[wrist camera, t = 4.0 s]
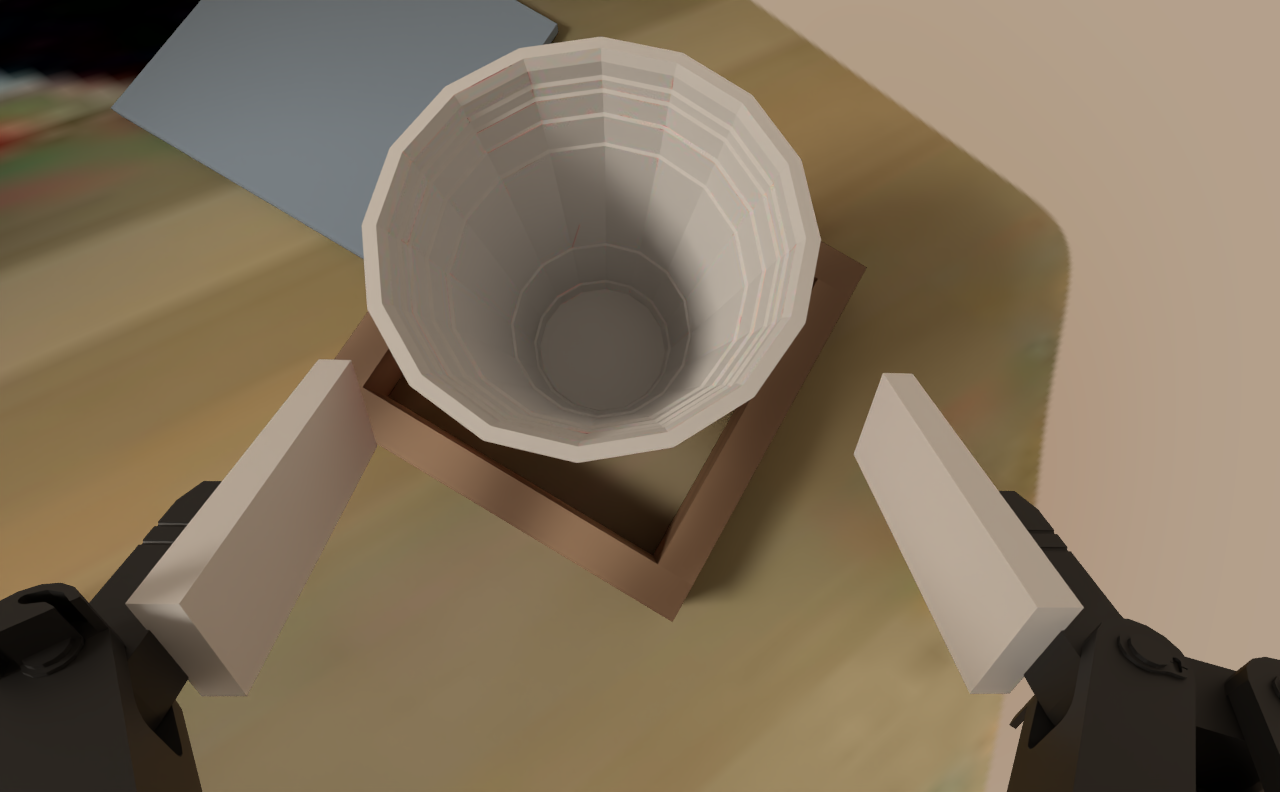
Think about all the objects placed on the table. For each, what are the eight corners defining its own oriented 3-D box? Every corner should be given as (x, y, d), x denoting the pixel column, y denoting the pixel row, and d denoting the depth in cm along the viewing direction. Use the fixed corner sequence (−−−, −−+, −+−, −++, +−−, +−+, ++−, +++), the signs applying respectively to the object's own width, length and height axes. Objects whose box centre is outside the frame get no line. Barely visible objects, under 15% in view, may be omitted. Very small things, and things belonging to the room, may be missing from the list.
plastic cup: (607, 182, 26) (605, -68, 14) (772, 353, 25) (917, 242, 13) (421, 337, 24) (244, 205, 13) (590, 525, 24) (570, 570, 12)
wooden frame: (337, 408, 24) (305, 400, 21) (540, 113, 26) (533, 75, 24) (665, 607, 23) (672, 622, 21) (842, 287, 26) (866, 267, 23)
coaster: (120, 115, 25) (110, 108, 25) (308, -111, 27) (303, -122, 27) (388, 274, 25) (384, 269, 24) (558, 32, 27) (557, 24, 26)
